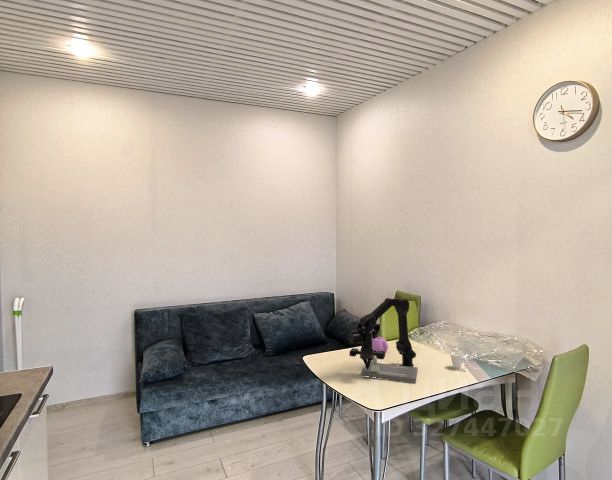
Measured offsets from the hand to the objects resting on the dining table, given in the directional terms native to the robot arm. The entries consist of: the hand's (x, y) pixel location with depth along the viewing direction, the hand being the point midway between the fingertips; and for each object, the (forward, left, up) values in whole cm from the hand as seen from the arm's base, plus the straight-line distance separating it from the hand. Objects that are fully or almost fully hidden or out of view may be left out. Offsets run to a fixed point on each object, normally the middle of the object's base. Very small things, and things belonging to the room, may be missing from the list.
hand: (367, 369), depth 200 cm
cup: (-24, +47, -4) cm, 53 cm away
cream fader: (-10, +1, -1) cm, 10 cm away
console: (-5, +11, -3) cm, 13 cm away
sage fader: (0, +4, -1) cm, 4 cm away
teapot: (-41, -1, -4) cm, 41 cm away
